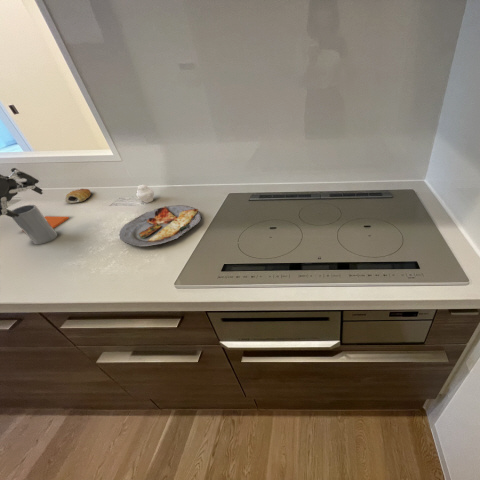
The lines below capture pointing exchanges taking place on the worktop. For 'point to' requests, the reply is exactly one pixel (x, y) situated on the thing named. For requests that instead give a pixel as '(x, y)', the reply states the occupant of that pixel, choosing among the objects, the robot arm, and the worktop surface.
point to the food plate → (160, 225)
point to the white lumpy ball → (145, 193)
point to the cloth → (55, 220)
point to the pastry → (78, 195)
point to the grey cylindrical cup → (34, 224)
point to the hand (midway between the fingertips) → (27, 203)
